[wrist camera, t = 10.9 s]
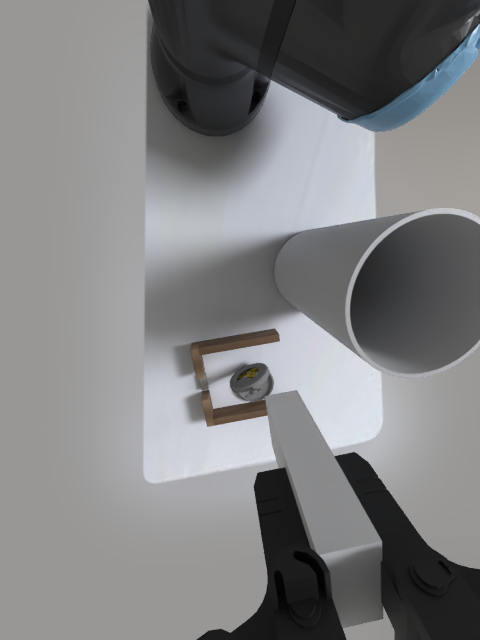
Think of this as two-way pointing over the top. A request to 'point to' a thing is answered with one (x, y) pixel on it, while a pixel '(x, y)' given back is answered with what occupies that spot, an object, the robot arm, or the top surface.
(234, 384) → the pocket watch
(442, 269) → the cylinder vase
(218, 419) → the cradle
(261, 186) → the top surface
